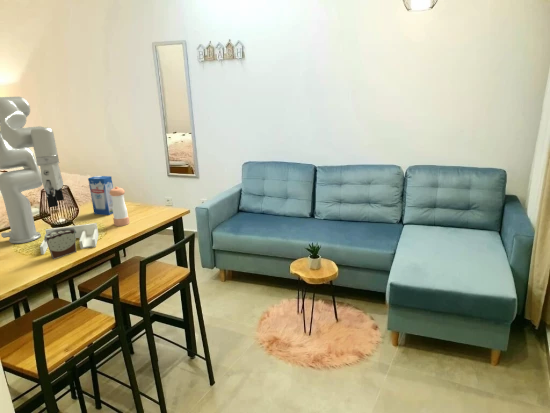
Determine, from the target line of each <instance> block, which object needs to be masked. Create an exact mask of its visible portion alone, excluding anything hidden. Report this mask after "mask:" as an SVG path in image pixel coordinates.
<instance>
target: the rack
mask: <svg viewBox="0 0 550 413" xmlns="http://www.w3.org/2000/svg"><path fill="white" fill-rule="evenodd" d="M97 223H98V222H95V223H87V224H86V223H85V224H78V225H69V226H63V227H53V228H46V229H45V234H46V233H48V232H50V231H53V230H57V229H62V228H74V229H75V230H76V233H75V240H77V239H76V238H79V247H80V249H81V250H83V249H90V248H91V249H92V248H96V247H97V245H98V244H97V242H98V240H99V230H98V224H97ZM39 249H40V255H45V254H46V252H47V249H49V247H48V244H47V241H46V242H45V241H44V239H43V240H42V242H41V244H40V246H39Z"/></svg>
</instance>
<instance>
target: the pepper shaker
mask: <svg viewBox="0 0 550 413" xmlns="http://www.w3.org/2000/svg"><path fill="white" fill-rule="evenodd" d="M125 191H126V190H125V189H124V188H122V187H119V186H115V187H113V189H111V190H110V195H111V196H112V201H113V214H112V215H113V217H112V218H113V225H114V226H115V227H123V226H128V225H129V224H130V216H129V215H128V214H129V213H128V209H127V205H126V203H125V195H124V194H125Z"/></svg>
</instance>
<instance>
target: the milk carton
mask: <svg viewBox="0 0 550 413" xmlns="http://www.w3.org/2000/svg"><path fill="white" fill-rule="evenodd" d="M87 180H88V184H89V185H88V186H89V191H90V197H91V203H92V209H93V214H94V215H100V216H101V215H103V216H111V215H113V201H112V196H111V195H110V190H111V189H113V188H114V184H113V179H112V176H110V175H94V176H91V177H89V178H87Z"/></svg>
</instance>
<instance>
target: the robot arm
mask: <svg viewBox="0 0 550 413" xmlns="http://www.w3.org/2000/svg"><path fill="white" fill-rule="evenodd" d="M30 113H31V105H30V104H29V102H28V100H26V98H24V97H22V96H0V170H1V171H2V170H4V171H5V170H10V169H11V170H10V171H5V172H3V173H0V193H1V197H2V200H3V202H4V206H5V211H6V216H7V218H8V219H7V220H8V223H9V224H8V225H9V227H10V231H7V232H6V231H4V232H1V233H0V235H1V238H3V239H4V238H9V239H8V241H9V242H10V244H23V243H24V244H25V243H29V242H32V241H36V240H38V239H39V238H41V234H42V233H41V232H39V231H37V229H36V225H35V220H34V215H33V211H32V205H31V202H30V199H29V198H28V196H26V195H24V194H23V192H25V191H30V190H35V189H38V188H40V187H42V186H43V190H44V191H45V196H46V200H47V205H48V207H49V208H54V207H56V208H57V207H59V204H58V202H60V201H64V199H65V198H64V194H63V189H62V188H63V186H64V181H63V177H62V173H61V169H60V166H59V164H60V159H59V155H58V150H57V149H58V148H57V143H56V140H55V133H54V131H53V129H52V128H51V127H48V126H47V127H44V126H41V125H39V126H28V127H24V126H25V125H26V123H27V118H28V117H29V115H30ZM31 148H33V150H32V149H31ZM33 152H34V153H33ZM18 168H23V169H18ZM12 169H16V170H12Z"/></svg>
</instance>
